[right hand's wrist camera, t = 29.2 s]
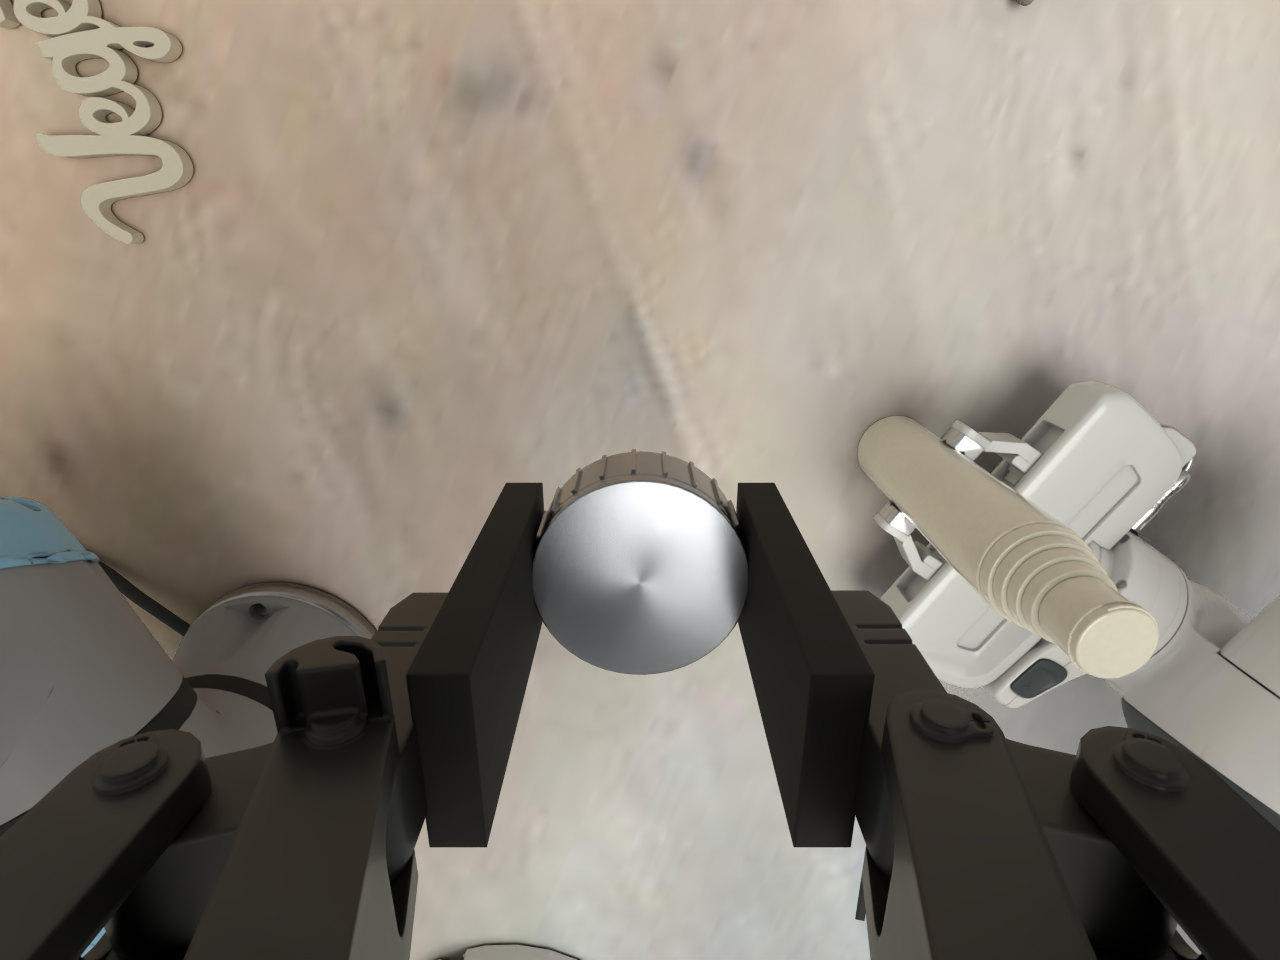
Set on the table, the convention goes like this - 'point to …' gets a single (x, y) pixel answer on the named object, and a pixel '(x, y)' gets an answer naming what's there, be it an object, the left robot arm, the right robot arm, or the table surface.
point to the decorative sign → (105, 100)
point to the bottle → (1009, 549)
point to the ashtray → (512, 953)
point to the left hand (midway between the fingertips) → (916, 473)
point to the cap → (640, 564)
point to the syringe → (1024, 2)
